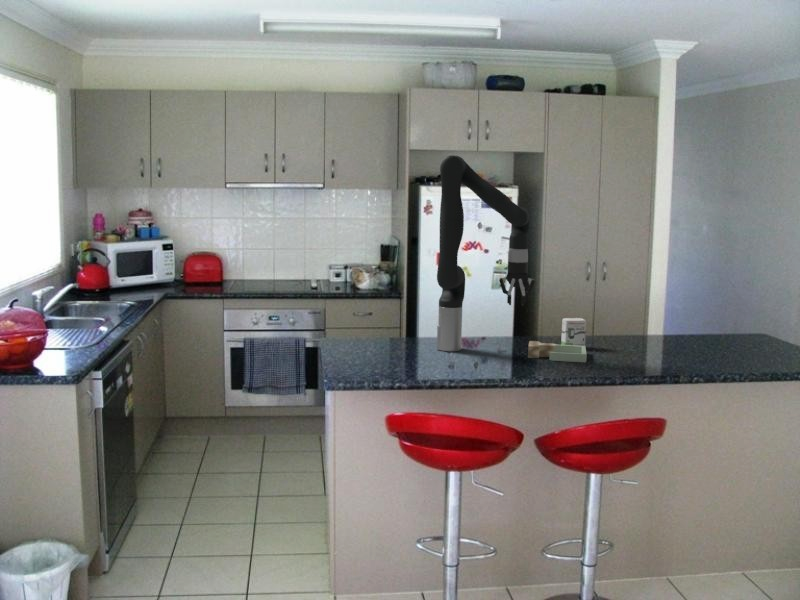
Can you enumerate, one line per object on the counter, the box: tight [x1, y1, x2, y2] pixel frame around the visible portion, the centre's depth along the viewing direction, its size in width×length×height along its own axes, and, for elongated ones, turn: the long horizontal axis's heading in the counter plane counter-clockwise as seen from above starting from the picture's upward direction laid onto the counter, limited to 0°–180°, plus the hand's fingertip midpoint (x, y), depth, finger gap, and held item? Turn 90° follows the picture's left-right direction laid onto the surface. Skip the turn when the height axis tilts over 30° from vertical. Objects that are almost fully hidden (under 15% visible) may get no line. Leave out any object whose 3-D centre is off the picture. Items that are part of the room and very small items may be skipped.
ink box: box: [560, 317, 587, 347], centre depth 342 cm, size 9×5×12 cm, turn 100°
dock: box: [549, 343, 588, 363], centre depth 326 cm, size 14×16×3 cm
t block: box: [527, 340, 556, 359], centre depth 327 cm, size 10×10×4 cm
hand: (516, 304), depth 326 cm, fingers open, 4 cm apart
